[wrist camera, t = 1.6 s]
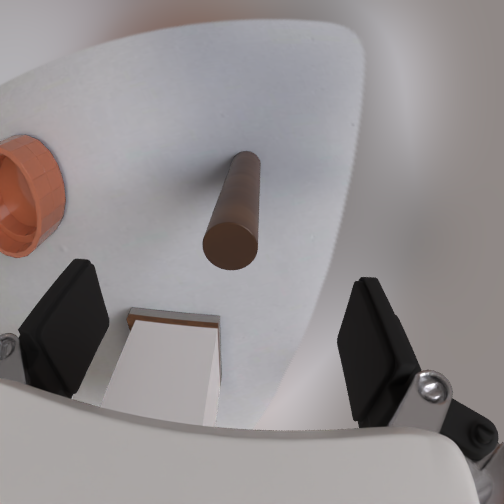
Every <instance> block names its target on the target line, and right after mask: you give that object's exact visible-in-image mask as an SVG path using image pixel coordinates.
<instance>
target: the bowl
mask: <svg viewBox="0 0 504 504" xmlns="http://www.w3.org/2000/svg"><path fill="white" fill-rule="evenodd" d="M65 202H66V199H65V188H64V182H63V179H62V175H61V172H60V169H59V166H58V164H57V162H56V161H55V159H54V157H53V156H52V154H51V152H50V151H49V150H48V149H47V148H46V147H45V146H44V145H43V144H42V143H41V142H40V141H39V140H37V139H35V138H32V137H30V136H28V135H15V136H12V137H9V138H7V139H4V140H2V141H0V252H2V253H3V254H5V255H7V256H11V257H15V258H20V257H25V256H28V255H29V254H30V253H31V252H32V251H33V250H35V249H36V248H37V247H38V246H39V245H40V244H41V243H42V242H43V241H44V240H45V239H46V238H47V237H48V236H49V235H50V234H52V233H53V232H54V231H55V230H56V229H57V228H58V226H59V224H60V222H61V220H62V218H63V214H64V208H65Z"/></svg>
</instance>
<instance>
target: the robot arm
mask: <svg viewBox="0 0 504 504" xmlns="http://www.w3.org/2000/svg"><path fill="white" fill-rule="evenodd" d="M108 327H109V317H108V313H107V310H106V307H105V304H104V300H103V297H102V293H101V289H100V286H99V282H98V278H97V274H96V270H95V267H94V265H93V264H91V262H90V261H89V260H85V259H74V260H73V261H72V262H71V263H70V264H69V266H68V267H67V268H66V269H65V270H64V271H63V273H62V274H61V275H60V276H59V277H58V279H57V280H56V281H55V282H54V283H53V285H52V286H51V287H50V288H49V290H48V291H47V292H46V293H45V295H44V296H43V297H42V298H41V300H40V301H39V302H38V304H37V305H36V306H35V308H34V309H33V310H32V311H31V313H30V314H29V315H28V317H27V318H26V320H25V321H24V322H23V324H22V325H21V326H20V328H19V329H18V331H19V333H20V336H19V338H18V337H17V336H16V335H14V334H12V333H5V334H2V335H0V504H504V443H503V442H502V443H501V444H499V443H498V432H497V430H496V427H495V425H494V424H493V423H492V422H491V421H490V420H488V419H487V418H485V417H484V416H482V415H480V414H478V413H477V412H475V411H473V410H471V409H470V408H468V407H466V406H464V405H463V404H461V403H459V402H457V401H456V400H454V399H452V394H453V391H452V386H451V384H450V382H449V380H448V379H447V378H446V377H445V376H444V375H442V374H441V373H439V372H436V371H434V370H424V371H421V368H420V366H419V364H418V361H417V359H416V356H415V354H414V351H413V349H412V347H411V345H410V342H409V340H408V338H407V336H406V334H405V331H404V329H403V327H402V325H401V323H400V320H399V318H398V317H397V316H396V315H395V314H394V312H393V309H392V307H391V305H390V303H389V301H388V299H387V297H386V295H385V293H384V291H383V289H382V287H381V285H380V283H379V281H378V279H377V278H371V277H361V278H360V279H359V281H355V282H354V285H353V288H352V292H351V295H350V299H349V302H348V305H347V309H346V312H345V315H344V318H343V321H342V325H341V328H340V331H339V334H338V338H337V345H338V350H339V354H340V358H341V363H342V367H343V372H344V377H345V381H346V386H347V391H348V396H349V401H350V406H351V411H352V416H353V420H354V421H358V424H359V428H354V429H338V430H308V431H307V430H305V431H274V430H273V431H272V430H248V429H232V428H220V427H210V426H201V425H192V424H185V423H178V422H171V421H165V420H159V419H153V418H148V417H142V416H137V415H132V414H128V413H123V412H119V411H114V410H110V409H106V408H102V407H98V406H94V405H90V404H87V403H83V402H80V401H76V400H73V399H71V398H72V396H73V394H75V393H77V391H78V389H79V387H80V385H81V383H82V380H83V378H84V376H85V374H86V372H87V370H88V367H89V365H90V363H91V361H92V359H93V357H94V355H95V353H96V351H97V349H98V347H99V345H100V343H101V341H102V339H103V337H104V335H105V333H106V331H107V329H108Z"/></svg>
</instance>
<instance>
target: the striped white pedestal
mask: <svg viewBox="0 0 504 504" xmlns="http://www.w3.org/2000/svg"><path fill="white" fill-rule="evenodd" d="M127 322H128V326H129V329H130V334H129V336H128V338H127V341H126V343H125V345H124V348H123V350H122V352H121V355H120V357H119V360H118V362H117V364H116V367H115V369H114V372H113V374H112V377H111V379H110V382H109V384H108V387H107V389H106V392H105V395H104V397H103V400H102V403H101V405H100V407H102V408H106V409H110V410H114V411H119V412H123V413H128V414H132V415H137V416H142V417H148V418H153V419H159V420H165V421H171V422H178V423H185V424H192V425H201V426H210V427H215V426H216V417H217V409H218V401H219V393H220V385H221V377H222V369H221V340H220V316H215V315H202V314H191V313H180V312H170V311H160V310H151V309H142V308H134V307H132V309H131V311H130V313H129V315H128V317H127Z"/></svg>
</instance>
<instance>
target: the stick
mask: <svg viewBox="0 0 504 504" xmlns="http://www.w3.org/2000/svg"><path fill="white" fill-rule="evenodd" d="M259 196H260V160H259V158H258V157H257V156H256V155H255V154H254V153H252V152H249V151H244V152H240V153H238V154H237V155H236V156H235V157H234V159H233V161H232V164H231V166H230V169H229V171H228V174H227V176H226V179H225V182H224V184H223V187H222V190H221V192H220V195H219V197H218V200H217V203H216V205H215V208H214V211H213V214H212V216H211V219H210V222H209V225H208V227H207V230H206V233H205V236H204V238H203V251H204V253H205V255H206V257H207V259H208V260H209V261H210V262H211V263H212V264H213V265H215V266H217V267H219V268H221V269H225V270H238V269H241V268H244V267H246V266H247V265H249V264H250V263H251V262H252V261H253V260H254V258H255V257H256V254H257V250H258V227H259Z"/></svg>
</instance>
